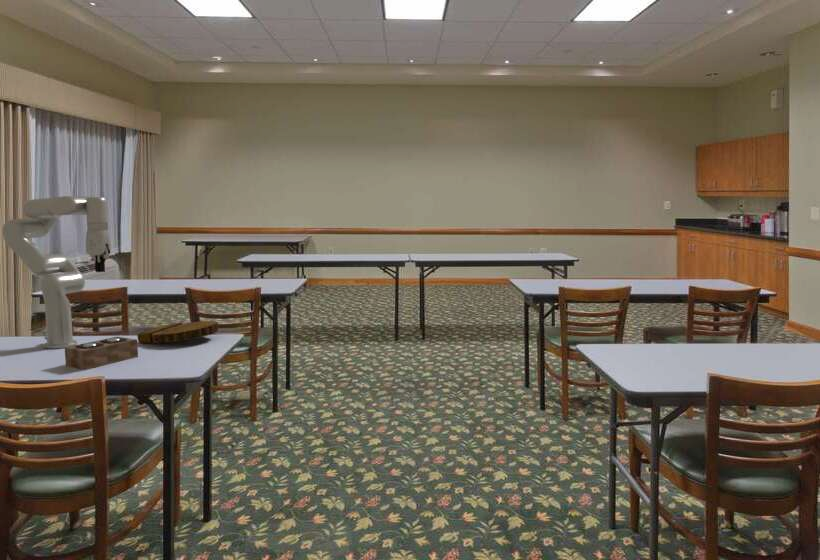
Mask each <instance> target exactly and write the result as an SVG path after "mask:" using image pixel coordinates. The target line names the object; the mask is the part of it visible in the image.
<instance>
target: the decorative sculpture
mask: <svg viewBox="0 0 820 560" xmlns="http://www.w3.org/2000/svg"><path fill="white" fill-rule="evenodd" d="M218 331H219V323H218V321H215V320H214V321H213V320H207V321H206V320H204V321H195V322H187V323H183V322H173V323H168V324H164V325H162V326H159V327H156V328H153V329H149V330H146V331H143V332H140V333H137V342H138V343H139V344H141V343H146V344H155V343H157V344H164V343H170V342H174V343H175V342H178V341H179V342H183V341H188V340H193V339H200V338H202V337H206V336H209V335H210V336H211V335H214V334H215V333H217V332H218Z"/></svg>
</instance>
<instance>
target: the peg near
mask: <svg viewBox="0 0 820 560" xmlns="http://www.w3.org/2000/svg"><path fill="white" fill-rule="evenodd" d="M86 343H87V344H84V343H82V344H83V346H86V347H89V346H93V345H96V343H89V342H86Z"/></svg>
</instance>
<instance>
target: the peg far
mask: <svg viewBox="0 0 820 560" xmlns="http://www.w3.org/2000/svg"><path fill="white" fill-rule="evenodd" d="M110 338H111V339H108V338H107V339H108V340H107V341H117V340H120V338H113V337H110Z"/></svg>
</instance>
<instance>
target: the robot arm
mask: <svg viewBox="0 0 820 560" xmlns="http://www.w3.org/2000/svg"><path fill="white" fill-rule="evenodd" d="M107 204H108V201H107V198H105V197H104V196H80V195H79V196H78V195H77V196H75V195H71V196H70V195H69V196H68V195H67V196H66V195H63V196H62V195H61V196H54V197H47V198H35V199H29V200H27V201H25V203H23V205H22V206H21V207H22V208H21V209H22V213H23V214H24V216H26V217H27V218H14V219H13V218H12V219H9V220H7V221H6V222H5V223H4V224H3V225H2V231H1V232H2V237H3V240H4V242H5V244H6V245H7V246H8V248H9V249H11V251H13V252H14V253H15V254H16V255H17V256H18V257H19V258H20V260H21V261H22V262H23V263H24V264H25V266H26V267H27V268H28V269H29V270H30V272H31V273H32V274H33V275H34V276H36V277H39V278H41V280H40V284H39V286H40V290H41V293H42V297H43V301H44V315H45V327H46V336H44V338H43V339H44V340H46V342H45V343H43V344H42V347H43V348H44V349H49V350H50V349H52V350H53V349H65V347H70V346H75V345H78V340H75V339H73V323H72V322H73V321H72V308H71V307H72V306H71V302H70V300H69V299H68V297H67V294H73V293H78V292H80V291H82V290H83V289H84V288H85V286H86V285H85V284H86V282H85V281H86V280H85V277H84V276H83V273H81V271H80V270H79V269H78V268H77V266H75V264H74V263H73V262H72V261H71V260H70V259H69V258H68V256H65V255H64V254H61V253H50V254H49V253H46V252H45V251H43V250H42V249H41V247H40V246H39V245H38V244H36V243H35V242H34V241H32V240H30V239H35V238H36V239H38V238H39V239H40V238H44V237H46V236H48V234H49V233H50V231H51V230H52V228H53V227H54V225H55V224H56V223H57V221H58V220H59V218H61V217H62V216H68V215H69V216H81V215H82V216H86V226H87V228H86V229H87V230H86V234H85V253H86V254H87V255H88V256H89V257H90V258H92V259H93V262H94V271H95V273H103V272H104V273H105V272H106V267H105V266H106V264H105V263H106V259H109V258H110V254H111V252H112V248H111V247H112V246H111V245H112V244H111V238H110V233H109V232H110V231H109V224H108V223H109V221H108V219H109V218H108V205H107Z"/></svg>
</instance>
